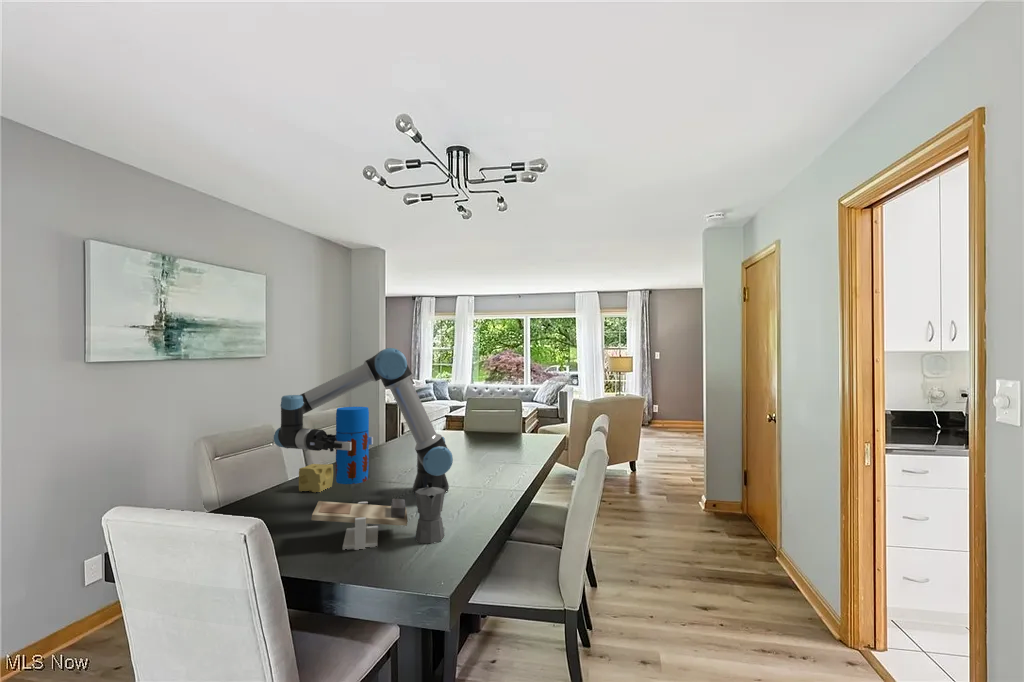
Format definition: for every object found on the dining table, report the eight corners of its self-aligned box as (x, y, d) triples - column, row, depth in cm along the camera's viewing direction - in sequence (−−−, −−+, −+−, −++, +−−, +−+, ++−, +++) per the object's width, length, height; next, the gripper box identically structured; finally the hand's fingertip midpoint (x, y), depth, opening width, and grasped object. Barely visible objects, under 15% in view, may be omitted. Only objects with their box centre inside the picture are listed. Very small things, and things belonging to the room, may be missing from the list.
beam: (405, 511, 167) (407, 498, 167) (406, 525, 153) (409, 510, 153) (317, 506, 160) (319, 491, 160) (311, 520, 146) (313, 504, 147)
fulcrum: (378, 527, 166) (378, 500, 167) (377, 548, 149) (377, 517, 149) (347, 530, 164) (347, 502, 164) (342, 551, 146) (342, 520, 147)
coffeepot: (446, 545, 151) (447, 485, 152) (415, 547, 149) (415, 487, 150) (442, 528, 166) (442, 474, 167) (413, 530, 164) (414, 475, 165)
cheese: (319, 493, 208) (320, 469, 208) (297, 491, 210) (297, 468, 210) (333, 486, 218) (333, 463, 218) (311, 485, 220) (311, 462, 220)
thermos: (374, 477, 176) (375, 407, 176) (355, 485, 165) (356, 410, 166) (348, 475, 179) (349, 406, 180) (328, 482, 169) (329, 409, 170)
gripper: (334, 444, 190) (382, 448, 182) (286, 456, 168) (338, 461, 160) (334, 424, 190) (382, 427, 182) (286, 433, 169) (338, 437, 160)
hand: (361, 443), depth 171 cm, fingers closed on thermos, 11 cm apart
